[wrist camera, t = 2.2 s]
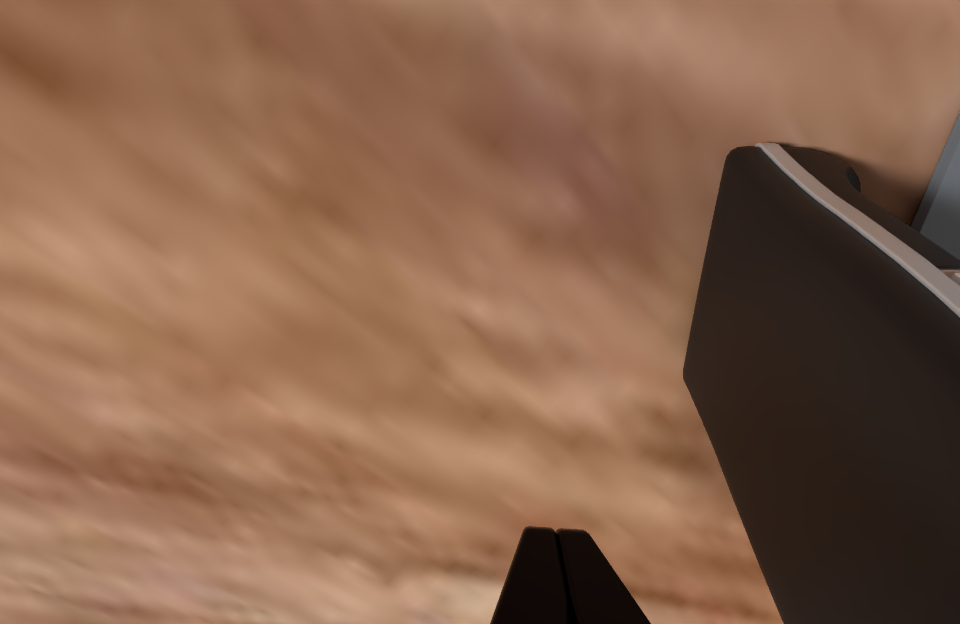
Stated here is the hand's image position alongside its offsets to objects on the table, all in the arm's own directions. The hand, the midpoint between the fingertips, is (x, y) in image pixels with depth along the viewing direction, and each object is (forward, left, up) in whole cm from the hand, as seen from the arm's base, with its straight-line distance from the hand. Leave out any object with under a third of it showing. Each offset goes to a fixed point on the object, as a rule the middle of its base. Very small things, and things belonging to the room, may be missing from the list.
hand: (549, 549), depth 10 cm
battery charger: (-6, 0, -10) cm, 12 cm away
